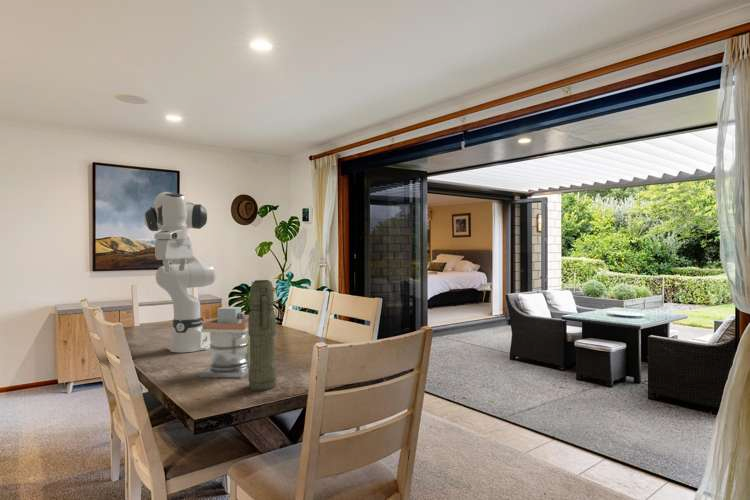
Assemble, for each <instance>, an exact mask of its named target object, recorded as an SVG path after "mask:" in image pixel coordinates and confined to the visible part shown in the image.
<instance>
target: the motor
mask: <svg viewBox="0 0 750 500" xmlns="http://www.w3.org/2000/svg"><path fill="white" fill-rule="evenodd" d="M201 332H209V333H210V341H211V344H210V348H209V349H210V360H211V362H210V363H211V364H210V365H209V366H208V367H205V368H204V369H201V371H199V372H198V378H199V377H200V378H202V377H203V378H234V379H235V378H236V379H237V378H238V379H242V378H243V377H245V376H246V375H249V365H250V361H249V346H250V340H249V333H248V319H247V318H244V319H241V323H217V318H214V319H211V320H208V321H204V322H202V329H201Z"/></svg>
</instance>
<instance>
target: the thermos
mask: <svg viewBox="0 0 750 500" xmlns="http://www.w3.org/2000/svg"><path fill="white" fill-rule="evenodd" d="M274 290H275V289H274V286H273V283H272V281H270V280H269V279H256V280H254V281H253V282H251V286H250V289H249V305H250V309H249V311H250V312H249V315H248V337H249V355H250V356H249V357H250V358H249V362H250V365H249V373H248V381H249V386H248V388H249V389H250V390H251V391H259V392H260V391H268V390H272V389H275V388H277V387H276V386H277V381H276V380H277V364H276V362H275V358H276V357H275V349H276V348H275V347H276V346H275V335H276V332H277V322H276V321H277V317H276V313H275V308H274V304H275V299H274V298H275V295H274V293H275V291H274Z"/></svg>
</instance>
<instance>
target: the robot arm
mask: <svg viewBox="0 0 750 500" xmlns="http://www.w3.org/2000/svg"><path fill="white" fill-rule="evenodd" d="M143 220H144V225H145V226H146V227H147V228H148V230H149V231H151V232H156V233H154V235H153V239H154V240H155V242H154V257H155V258H156V260H158V261H161V260H162V264H163V265H161V266H159V267H158V269H157V271H156V273H155V281H156V284H157V285H158V286H159V287H160V288H162V289H163V290H165V292H167V294H168V295H169V297H170V298H171V300H172V301H171V302H172V306H173V307H172V308H173V319H172V327H173V328H172V329H171V331H170V337H169V346H167V350H168V351H170V352H172V353H193V352H199V351H208V350H209V349H211V348H210V344H211V332H201V329H202V323H203V322H205V319H206V318H205V317H204V316H203V317H202V316H201V302H200V300H199V299H198V298H197V297H196V296H194V295H192V294H189V293H188V291H187V289H188V288H189V289H190V288H191V289H192V288H203V287H207V286H212V285H213V284H214V283H215V281H216V278H217V272H216V269H215V267H214V266H213V265H212V264H209V263H208V262H205V261H203V260H201V259H200V258H199V257H198V255H196V254H195V252H194V251H193V246H192V245H193V244H192V241H191V240H190V238H189V236H188V229H197V230H201V229H202V228H203V227H204V226H205V225H206V224H207V222H208V213H207V209H206V208H205V207H204V206H203V205H202V204H198V203H197V204H195V203H192V202H189V201H187V199H186V196H185V195H184V194H182V193H173V192H169V191H164V192H159V193H158V194H157V195H156V196H155V198H154V201H153V207H152V206H150V207H149V209H148V210H146V212H145V213H144V217H143Z"/></svg>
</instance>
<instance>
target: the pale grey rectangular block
mask: <svg viewBox="0 0 750 500" xmlns="http://www.w3.org/2000/svg"><path fill="white" fill-rule="evenodd" d="M216 312H217V314H216V315H217V316H216V317H217V318H216V319H217V323H241V319H246V318H245V316H246V315H245V312H242V307H241V306H221V307H219V308H217V311H216Z"/></svg>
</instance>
